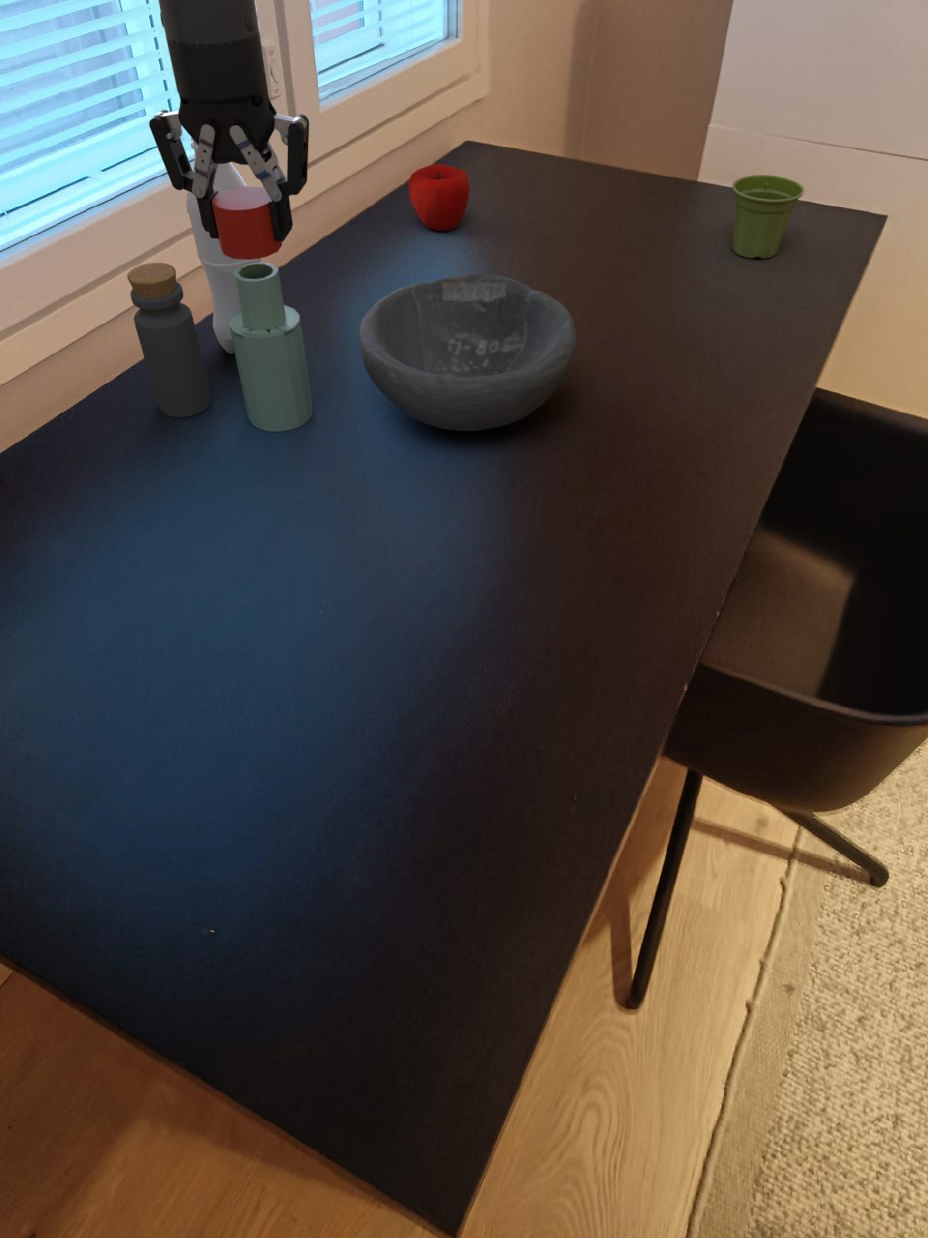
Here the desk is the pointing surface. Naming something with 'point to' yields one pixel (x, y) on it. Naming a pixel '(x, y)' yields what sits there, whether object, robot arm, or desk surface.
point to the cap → (244, 223)
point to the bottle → (169, 341)
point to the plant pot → (762, 213)
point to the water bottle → (218, 257)
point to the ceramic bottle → (269, 351)
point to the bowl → (467, 350)
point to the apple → (439, 195)
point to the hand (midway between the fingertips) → (249, 235)
